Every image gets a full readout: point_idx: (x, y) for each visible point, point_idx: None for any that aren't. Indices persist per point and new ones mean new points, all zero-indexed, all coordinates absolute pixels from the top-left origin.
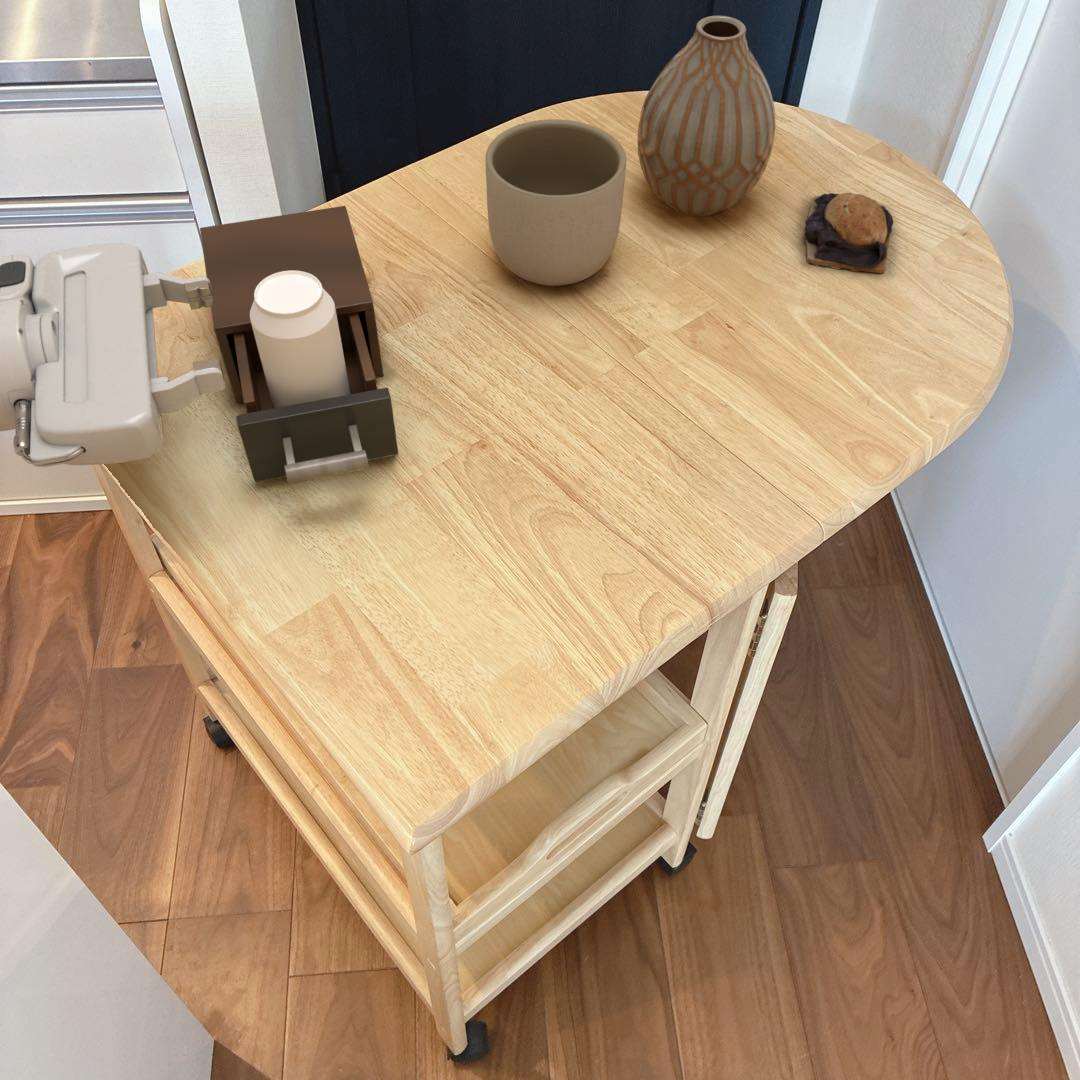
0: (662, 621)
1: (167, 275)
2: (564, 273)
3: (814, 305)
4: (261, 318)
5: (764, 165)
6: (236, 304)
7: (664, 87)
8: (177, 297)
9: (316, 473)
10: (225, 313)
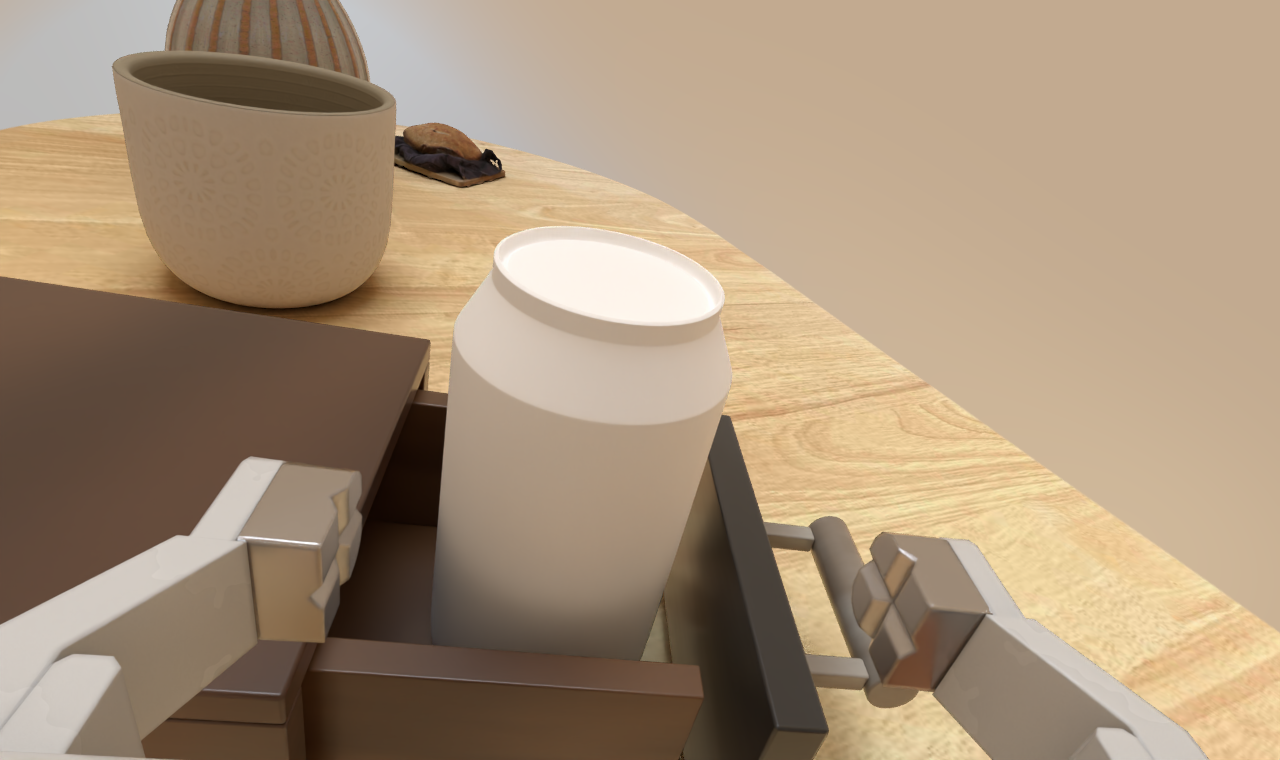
0: (959, 415)
1: (60, 603)
2: (379, 255)
3: (525, 207)
4: (680, 367)
5: None
6: None
7: (241, 4)
8: (186, 674)
9: None
10: None
